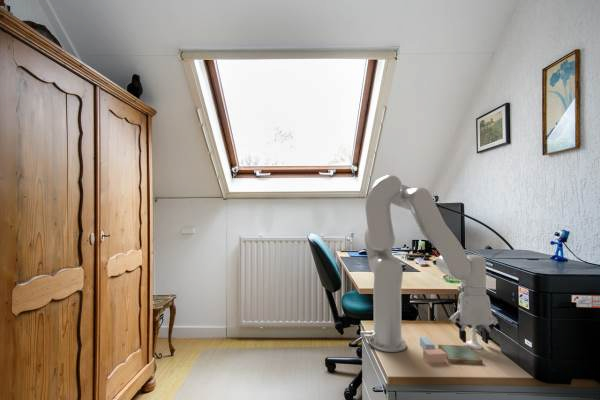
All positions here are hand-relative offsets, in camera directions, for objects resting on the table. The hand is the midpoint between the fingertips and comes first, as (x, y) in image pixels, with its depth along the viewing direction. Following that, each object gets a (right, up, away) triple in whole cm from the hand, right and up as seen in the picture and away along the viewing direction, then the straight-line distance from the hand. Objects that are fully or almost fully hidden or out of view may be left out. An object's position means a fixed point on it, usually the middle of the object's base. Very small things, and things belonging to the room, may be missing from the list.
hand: (474, 341), depth 109 cm
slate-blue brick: (-17, -2, -2) cm, 18 cm away
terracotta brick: (-18, -2, -10) cm, 21 cm away
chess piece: (0, -2, 0) cm, 2 cm away
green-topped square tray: (-9, -2, -7) cm, 11 cm away
